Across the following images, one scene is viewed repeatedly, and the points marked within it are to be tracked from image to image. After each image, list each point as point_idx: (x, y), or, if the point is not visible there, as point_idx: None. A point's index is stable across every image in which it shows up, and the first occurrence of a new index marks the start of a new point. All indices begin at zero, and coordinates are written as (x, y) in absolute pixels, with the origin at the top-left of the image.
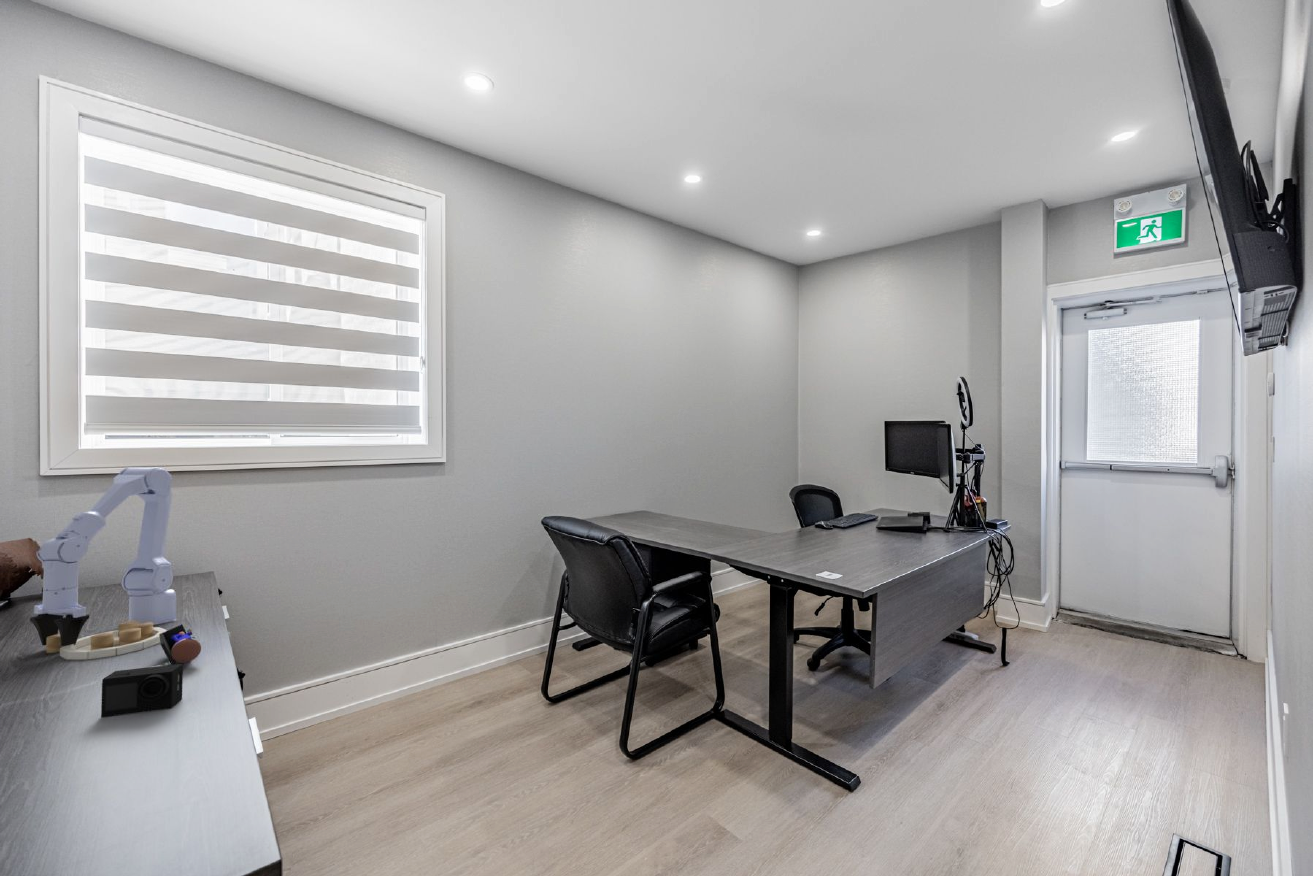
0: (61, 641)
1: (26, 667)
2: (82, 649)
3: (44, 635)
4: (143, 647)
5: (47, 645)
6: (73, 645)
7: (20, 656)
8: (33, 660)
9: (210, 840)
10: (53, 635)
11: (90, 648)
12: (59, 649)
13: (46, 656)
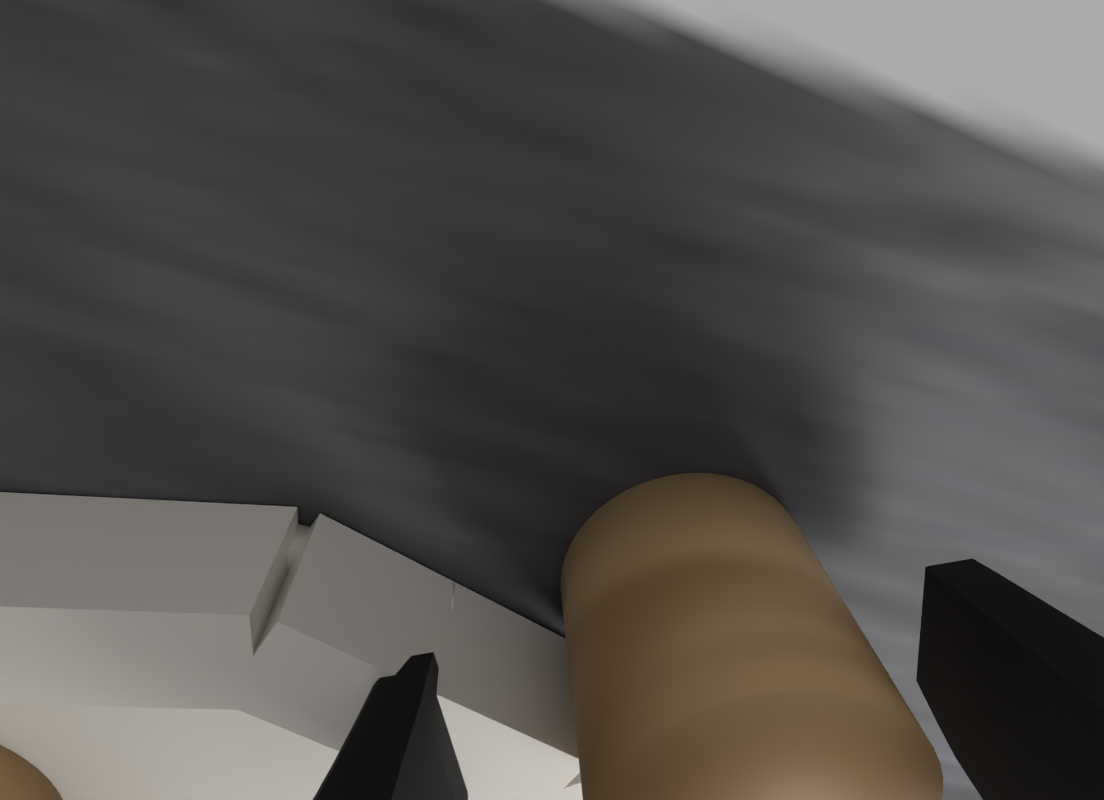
0: (384, 743)
1: (138, 76)
2: None
3: (1062, 722)
4: None
5: (719, 579)
6: None
7: (1053, 274)
8: (560, 291)
9: None
10: (904, 790)
11: None
12: (570, 614)
13: (617, 452)
